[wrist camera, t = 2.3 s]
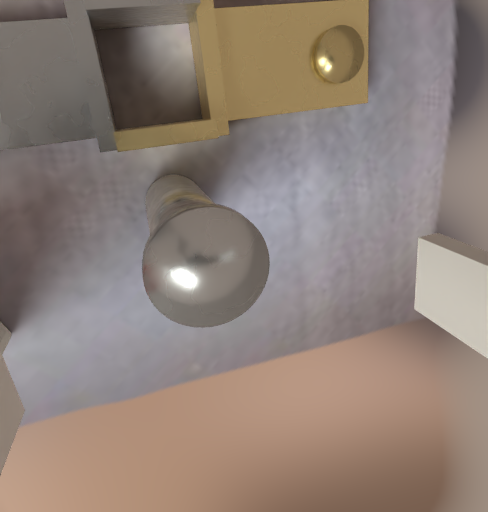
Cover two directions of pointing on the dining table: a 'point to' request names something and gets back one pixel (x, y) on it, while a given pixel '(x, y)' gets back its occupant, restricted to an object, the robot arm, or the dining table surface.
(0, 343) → the ink box
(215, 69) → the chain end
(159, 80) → the dining table surface
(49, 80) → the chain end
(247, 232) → the pin
